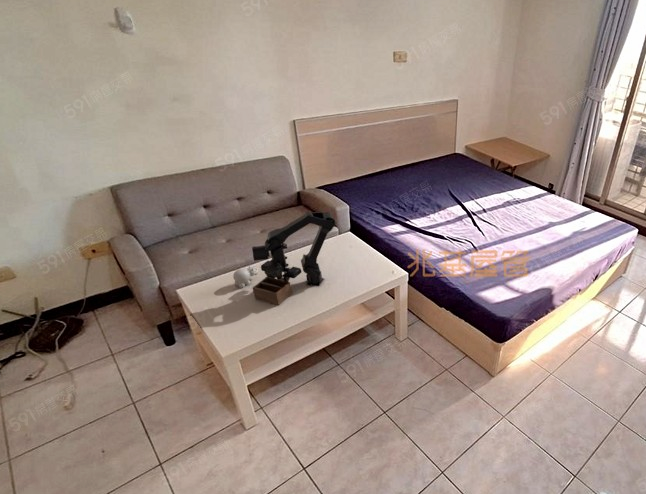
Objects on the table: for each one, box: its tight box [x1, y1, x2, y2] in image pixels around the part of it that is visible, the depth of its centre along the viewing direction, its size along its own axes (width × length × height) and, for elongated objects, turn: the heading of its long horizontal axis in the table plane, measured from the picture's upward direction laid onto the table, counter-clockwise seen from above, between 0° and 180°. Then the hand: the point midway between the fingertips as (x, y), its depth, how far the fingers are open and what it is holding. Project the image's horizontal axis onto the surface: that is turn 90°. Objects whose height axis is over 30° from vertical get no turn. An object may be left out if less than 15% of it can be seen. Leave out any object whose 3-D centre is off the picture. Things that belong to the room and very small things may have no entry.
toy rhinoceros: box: [232, 265, 259, 289], centre depth 204 cm, size 7×12×8 cm, turn 144°
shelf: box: [252, 276, 293, 306], centre depth 197 cm, size 14×13×7 cm
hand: (284, 283), depth 203 cm, fingers closed on shelf, 3 cm apart
